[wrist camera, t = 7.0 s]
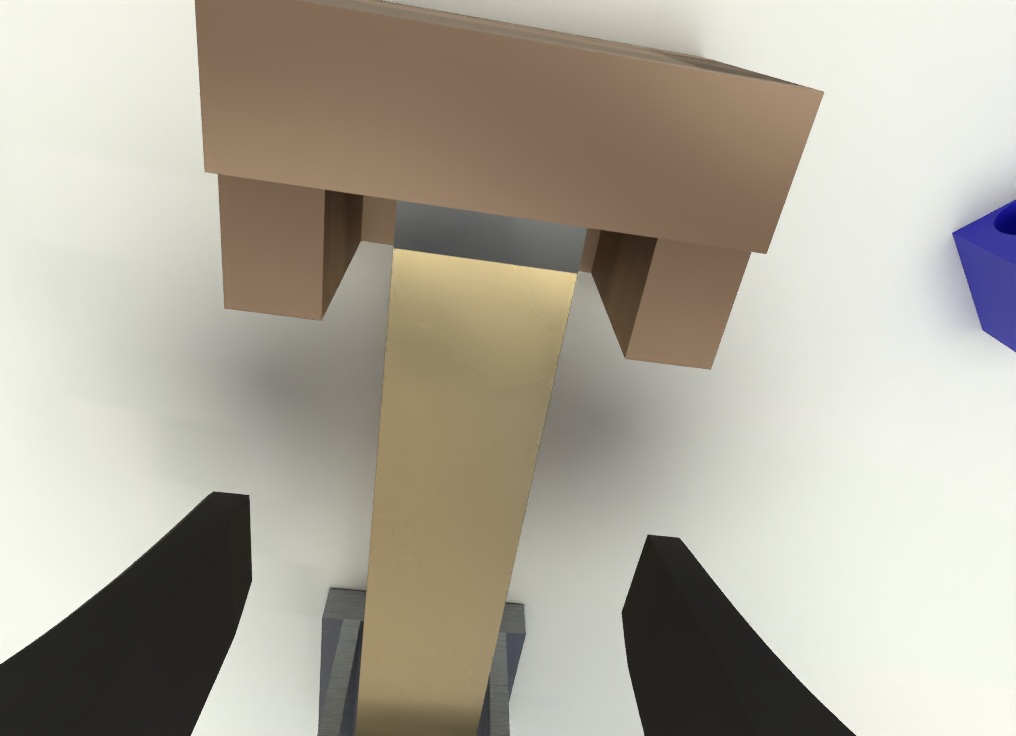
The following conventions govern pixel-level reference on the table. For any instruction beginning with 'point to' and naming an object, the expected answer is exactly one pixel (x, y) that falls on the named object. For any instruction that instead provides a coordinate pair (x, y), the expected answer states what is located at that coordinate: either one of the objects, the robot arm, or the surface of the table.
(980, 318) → the cable clip
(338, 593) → the sleeve
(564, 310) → the tube
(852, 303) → the table surface
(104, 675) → the robot arm
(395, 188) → the socket block
